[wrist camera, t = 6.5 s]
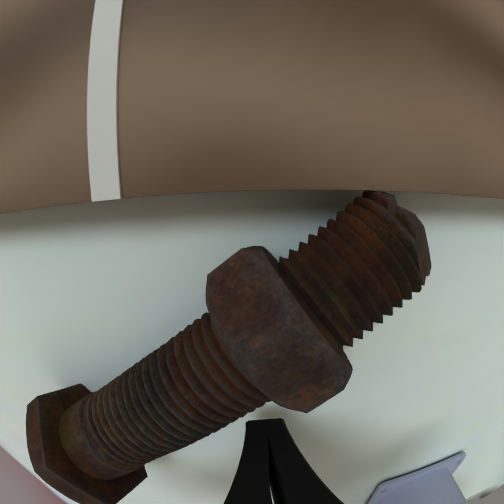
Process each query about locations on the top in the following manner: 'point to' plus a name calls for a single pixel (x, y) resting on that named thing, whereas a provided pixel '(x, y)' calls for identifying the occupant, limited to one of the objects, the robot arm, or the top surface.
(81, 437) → the bolt
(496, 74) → the plank
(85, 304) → the top surface
